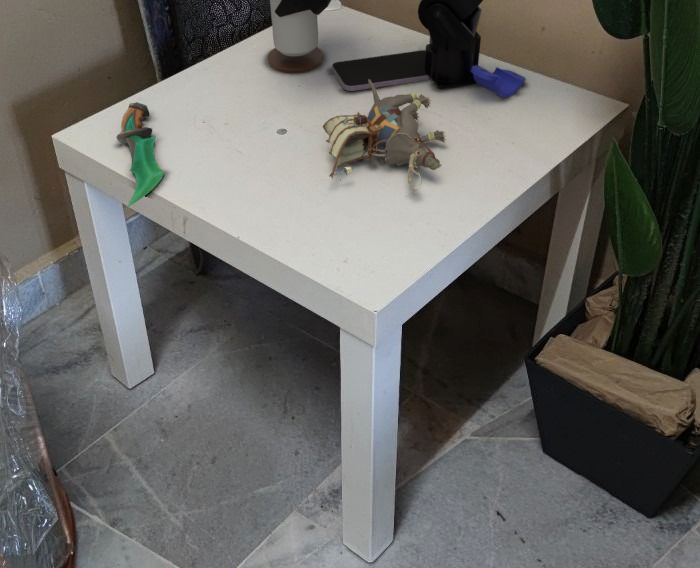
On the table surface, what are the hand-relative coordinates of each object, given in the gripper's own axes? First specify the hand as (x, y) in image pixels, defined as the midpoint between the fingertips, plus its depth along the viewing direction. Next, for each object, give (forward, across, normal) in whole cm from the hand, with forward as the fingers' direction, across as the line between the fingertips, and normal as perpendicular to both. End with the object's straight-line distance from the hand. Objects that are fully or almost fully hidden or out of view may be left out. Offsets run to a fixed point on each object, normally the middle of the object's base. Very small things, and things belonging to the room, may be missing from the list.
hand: (284, 3), depth 127 cm
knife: (+12, +27, 0) cm, 29 cm away
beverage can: (+4, 0, +6) cm, 7 cm away
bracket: (-17, +2, +26) cm, 31 cm away
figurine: (-6, +22, +19) cm, 29 cm away
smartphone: (-4, +1, +17) cm, 17 cm away
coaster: (+5, 0, +7) cm, 8 cm away
